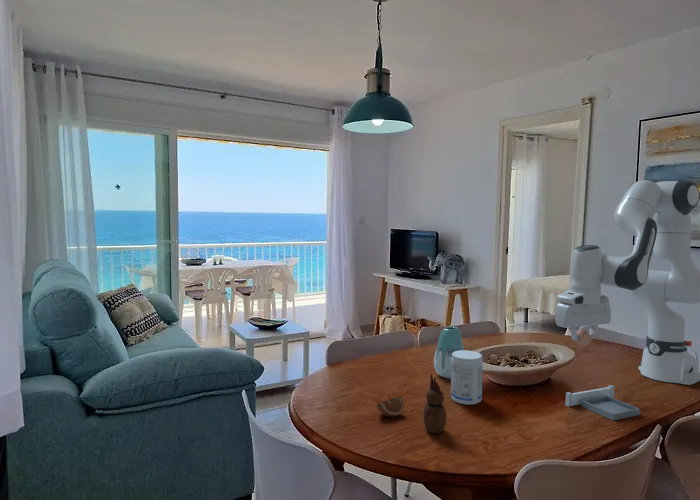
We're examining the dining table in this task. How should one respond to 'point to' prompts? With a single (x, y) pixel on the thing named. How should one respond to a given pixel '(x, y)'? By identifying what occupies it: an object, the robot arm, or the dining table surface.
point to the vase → (447, 350)
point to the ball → (583, 337)
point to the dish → (610, 407)
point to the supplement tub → (466, 377)
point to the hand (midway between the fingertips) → (582, 339)
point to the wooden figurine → (434, 409)
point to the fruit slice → (391, 407)
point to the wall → (588, 395)
